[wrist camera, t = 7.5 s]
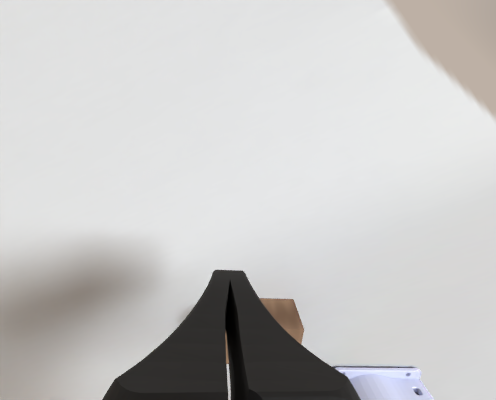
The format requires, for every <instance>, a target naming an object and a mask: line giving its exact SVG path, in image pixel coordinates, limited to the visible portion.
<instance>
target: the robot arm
mask: <svg viewBox="0 0 496 400" xmlns="http://www.w3.org/2000/svg"><path fill="white" fill-rule="evenodd" d="M225 334H226V336H227V348H228V359H229V371H230V384H231V400H434V398H433V397H432V395H431V394H430V393H429V391H428V390H427V388H426V387H425V386H424V384H423V383H422V382H421V380H420V377H421V371H420V370H419V369H418V368H350V367H337V368H333V367H331V366H330V365H328V364H326V363H325V362H323V361H322V360H320V359H319V358H318V357H316V356H315V355H314V354H312V353H311V352H310V351H308V350H307V349H306V348H305V347H303V346H302V345H301V344H300V343H299V342H298V341H296V340H295V339H294V338H293V337H292V336H291V335H290V334H289V333H288V332H287V331H285V330H284V328H283V327H282V326H281V325H280V324H279V323H278V322H277V321H276V320H275V319H274V317H273V316H272V315H271V314H270V312H269V311H268V310H267V308H266V307H265V306H264V304H263V303H262V302H261V300H260V299H259V297H258V296H257V294H256V293H255V291H254V289H253V288H252V286H251V284H250V282H249V281H248V279H247V277H246V274H245V273H244V272H243V271H232V270H215V271H214V272H213V274H212V277H211V280H210V282H209V284H208V286H207V288H206V289H205V291H204V293H203V295H202V296H201V298H200V299H199V301H198V302H197V304H196V305H195V307H194V308H193V310H192V311H191V312H190V314H189V315H188V316H187V317H186V319H185V320H184V321H183V322H182V323H181V324H180V326H179V327H178V328H177V329H176V330H175V331H174V332H173V333H172V334H171V335H170V336H169V337H168V338H167V339H166V340H165V341H164V342H163V343H162V344H161V345H160V346H158V347H157V348H156V349H155V350H154V351H153V352H151V353H150V354H149V355H148V356H147V357H145V358H144V359H143V360H142V361H140V362H139V363H138V364H136V365H135V366H134V367H132V368H131V369H129V370H128V371H126V372H125V373H124V374H122V375H121V376H119V377H118V378H116V379H115V380H114V382H113V383H112V385H111V386H110V388H109V390H108V391H107V393H106V394H105V396H104V398H103V400H228V386H227V368H226V339H225Z"/></svg>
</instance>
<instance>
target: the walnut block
mask: <svg viewBox="0 0 496 400" xmlns="http://www.w3.org/2000/svg"><path fill="white" fill-rule="evenodd" d="M259 299H260V300H261V302H262V303H263V304H264V306H265V307H266V308H267V310H268V311H269V312H270V314H271V315H272V316H273V317H274V319H275V320H276V321H277V322H278V323H279V324H280V325H281V326H282V327H283V328H284V330H285V331H287V332H288V333H289V334H290V335H291V336H292V337H293V338H294V339H295V340H296V341H298V342H299V343H300V344H301V342H302V337H303V332H304V328H303V325H302V322H301V319H300V317H299V314H298V311H297V308H296V305H295V302H294V300H293V299H263V298H259ZM225 339H226V364H229V359H228V348H227V336H226V334H225Z"/></svg>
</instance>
